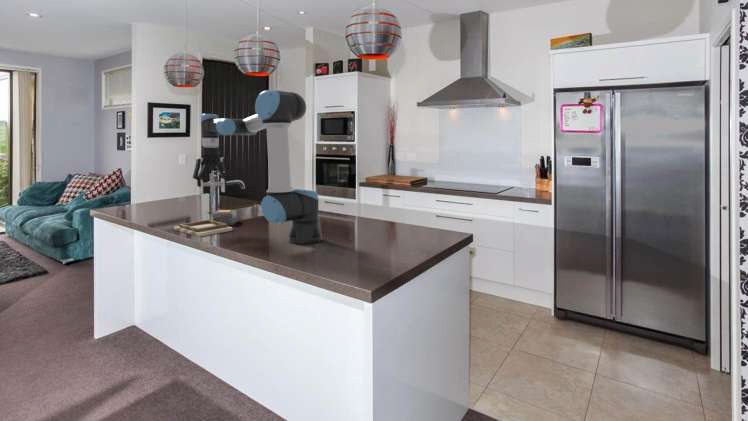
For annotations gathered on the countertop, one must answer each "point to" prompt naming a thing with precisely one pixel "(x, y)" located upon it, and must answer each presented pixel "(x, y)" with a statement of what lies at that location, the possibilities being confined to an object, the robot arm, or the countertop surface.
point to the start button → (224, 211)
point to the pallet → (203, 228)
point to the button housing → (226, 217)
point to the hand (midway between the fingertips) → (212, 192)
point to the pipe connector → (212, 184)
